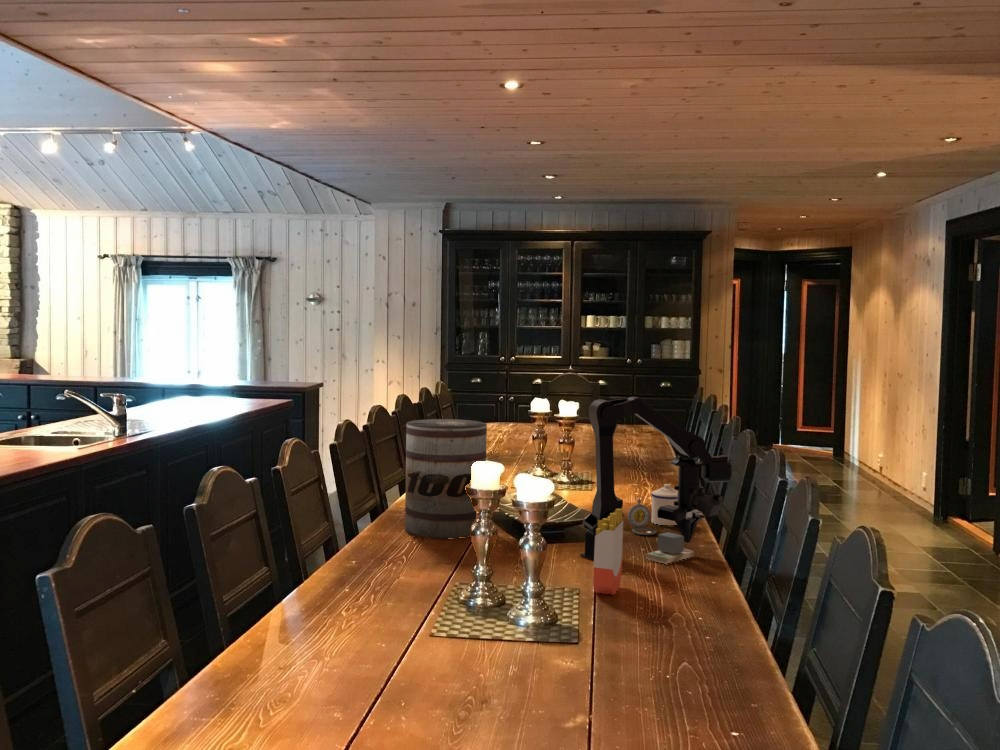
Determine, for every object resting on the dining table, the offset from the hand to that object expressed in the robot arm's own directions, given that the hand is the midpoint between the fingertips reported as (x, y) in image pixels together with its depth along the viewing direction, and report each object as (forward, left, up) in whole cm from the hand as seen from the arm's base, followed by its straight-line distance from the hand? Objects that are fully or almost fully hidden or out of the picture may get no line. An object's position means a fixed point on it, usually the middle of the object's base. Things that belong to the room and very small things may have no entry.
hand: (687, 542), depth 228 cm
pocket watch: (+9, +22, -3) cm, 24 cm away
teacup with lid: (+25, +26, -3) cm, 36 cm away
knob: (-7, 0, -1) cm, 7 cm away
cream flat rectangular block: (-7, 0, -3) cm, 8 cm away
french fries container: (-40, -8, -3) cm, 41 cm away
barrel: (-34, +58, -3) cm, 67 cm away
